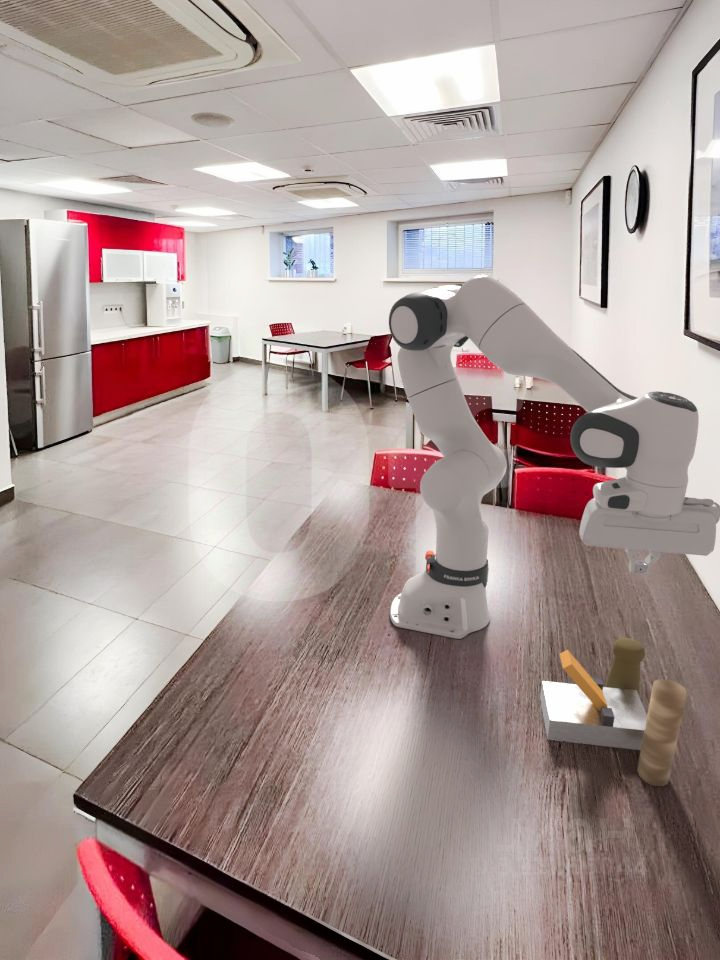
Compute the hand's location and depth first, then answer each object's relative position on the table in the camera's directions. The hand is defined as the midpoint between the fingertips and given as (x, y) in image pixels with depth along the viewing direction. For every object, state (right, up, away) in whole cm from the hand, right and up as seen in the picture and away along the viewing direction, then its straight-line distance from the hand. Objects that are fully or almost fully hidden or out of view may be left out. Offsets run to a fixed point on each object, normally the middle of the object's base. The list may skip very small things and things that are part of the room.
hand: (638, 571), depth 98 cm
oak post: (-2, -30, -8) cm, 31 cm away
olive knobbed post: (+1, -24, +9) cm, 26 cm away
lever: (-6, -22, 0) cm, 23 cm away
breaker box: (-7, -26, +2) cm, 27 cm away
